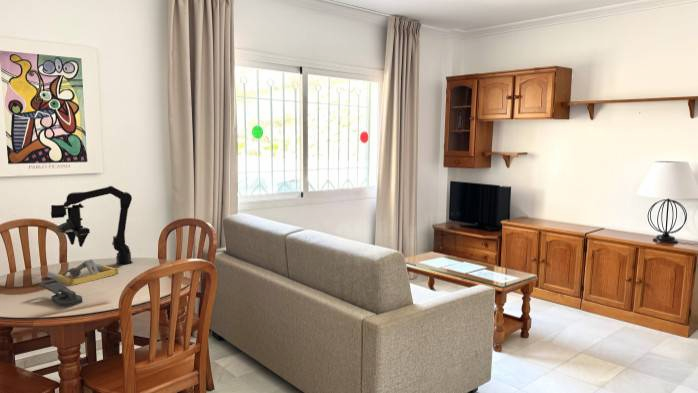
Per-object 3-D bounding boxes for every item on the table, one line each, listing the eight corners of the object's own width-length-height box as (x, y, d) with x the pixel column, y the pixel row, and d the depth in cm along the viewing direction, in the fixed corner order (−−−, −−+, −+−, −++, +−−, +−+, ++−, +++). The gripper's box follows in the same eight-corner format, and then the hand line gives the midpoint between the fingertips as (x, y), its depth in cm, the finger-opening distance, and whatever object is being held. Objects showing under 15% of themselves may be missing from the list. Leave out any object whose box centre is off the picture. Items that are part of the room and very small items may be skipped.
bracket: (82, 282, 235) (73, 264, 236) (65, 293, 241) (56, 275, 241) (101, 276, 245) (92, 258, 245) (84, 287, 250) (75, 270, 251)
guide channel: (93, 266, 263) (93, 262, 263) (118, 274, 249) (118, 269, 249) (47, 276, 245) (47, 272, 244) (71, 285, 230) (71, 280, 230)
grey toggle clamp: (57, 277, 220) (84, 287, 206) (58, 292, 221) (86, 302, 207) (35, 282, 213) (62, 292, 198) (36, 297, 214) (63, 308, 199)
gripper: (49, 217, 255) (52, 246, 257) (66, 220, 244) (69, 250, 246) (71, 214, 264) (74, 242, 266) (89, 217, 253) (91, 246, 255)
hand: (76, 245), depth 258 cm, fingers open, 9 cm apart
